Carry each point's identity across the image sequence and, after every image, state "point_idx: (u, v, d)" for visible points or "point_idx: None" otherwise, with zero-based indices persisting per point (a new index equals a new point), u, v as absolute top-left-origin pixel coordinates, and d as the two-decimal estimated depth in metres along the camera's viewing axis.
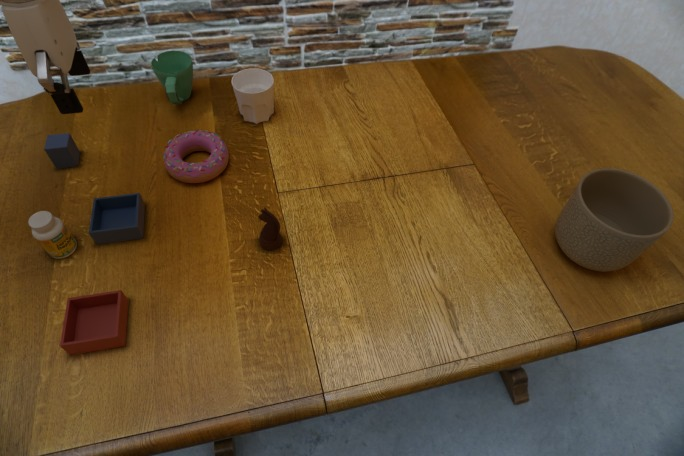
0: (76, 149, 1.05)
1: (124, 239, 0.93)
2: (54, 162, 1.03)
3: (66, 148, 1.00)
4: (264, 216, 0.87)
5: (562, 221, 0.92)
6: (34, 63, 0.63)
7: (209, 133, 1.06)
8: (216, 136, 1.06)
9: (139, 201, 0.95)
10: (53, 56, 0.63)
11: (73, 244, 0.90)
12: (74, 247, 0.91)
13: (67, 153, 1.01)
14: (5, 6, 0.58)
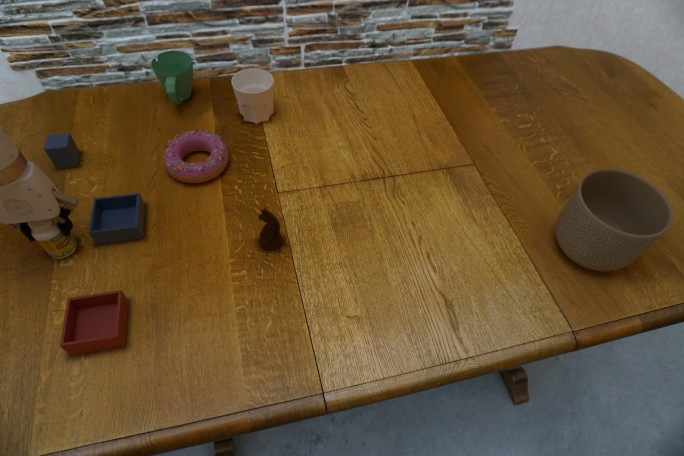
0: (76, 149, 1.05)
1: (124, 239, 0.93)
2: (54, 162, 1.03)
3: (66, 148, 1.00)
4: (264, 216, 0.87)
5: (562, 221, 0.92)
6: (56, 202, 0.80)
7: (209, 133, 1.06)
8: (216, 136, 1.06)
9: (139, 201, 0.95)
10: (55, 188, 0.81)
11: (73, 244, 0.90)
12: (74, 247, 0.91)
13: (67, 153, 1.01)
14: (24, 177, 0.74)
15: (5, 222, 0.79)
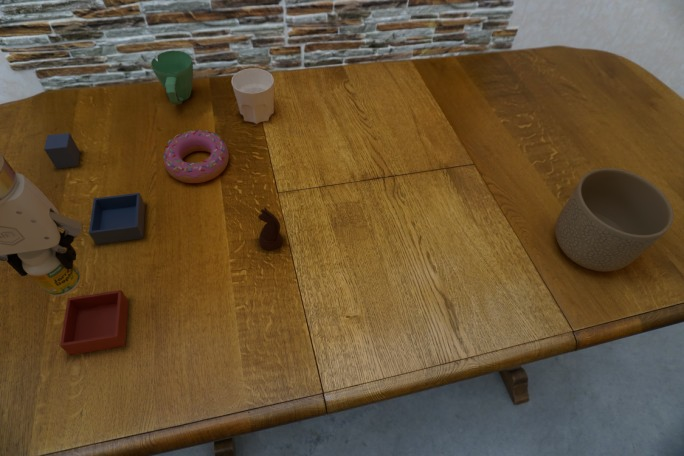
0: (76, 149, 1.05)
1: (124, 239, 0.93)
2: (54, 162, 1.03)
3: (66, 148, 1.00)
4: (264, 216, 0.87)
5: (562, 221, 0.92)
6: (55, 227, 0.60)
7: (209, 133, 1.06)
8: (216, 136, 1.06)
9: (139, 201, 0.95)
10: (54, 208, 0.61)
11: (76, 277, 0.71)
12: (77, 281, 0.71)
13: (67, 153, 1.01)
14: (11, 197, 0.54)
15: None
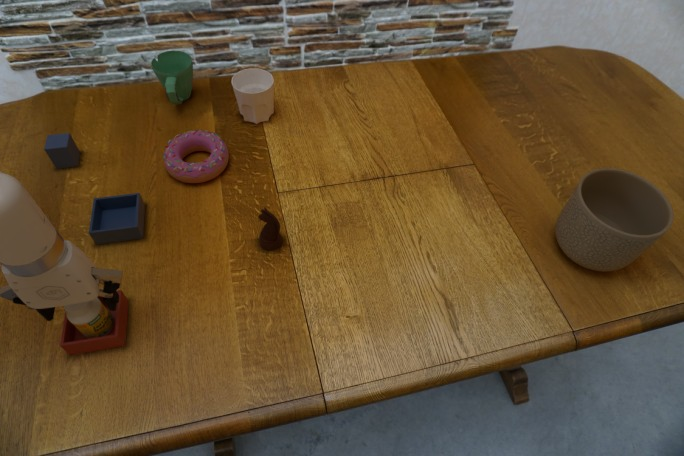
0: (76, 149, 1.05)
1: (124, 239, 0.93)
2: (54, 162, 1.03)
3: (66, 148, 1.00)
4: (264, 216, 0.87)
5: (562, 221, 0.92)
6: (95, 284, 0.69)
7: (209, 133, 1.06)
8: (216, 136, 1.06)
9: (139, 201, 0.95)
10: (94, 266, 0.70)
11: (110, 322, 0.80)
12: (111, 326, 0.81)
13: (67, 153, 1.01)
14: (62, 263, 0.63)
15: (36, 307, 0.69)
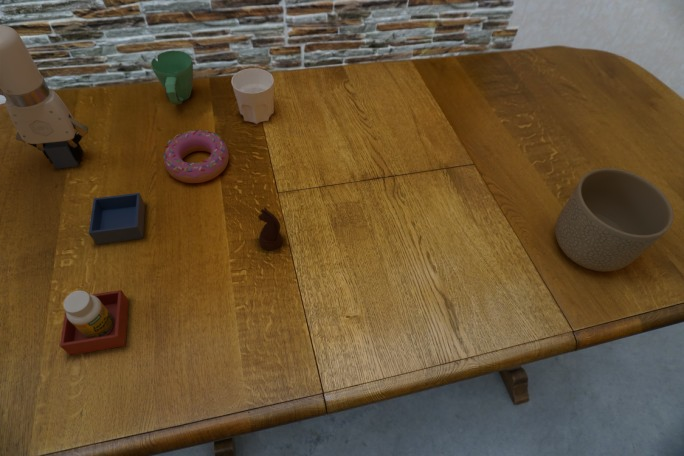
0: None
1: (124, 239, 0.93)
2: (54, 162, 1.03)
3: (66, 148, 1.00)
4: (264, 216, 0.87)
5: (562, 221, 0.92)
6: (72, 126, 0.97)
7: (209, 133, 1.06)
8: (216, 136, 1.06)
9: (139, 201, 0.95)
10: (71, 115, 0.98)
11: (110, 322, 0.80)
12: (111, 326, 0.81)
13: (67, 153, 1.01)
14: (47, 101, 0.91)
15: (30, 142, 0.97)
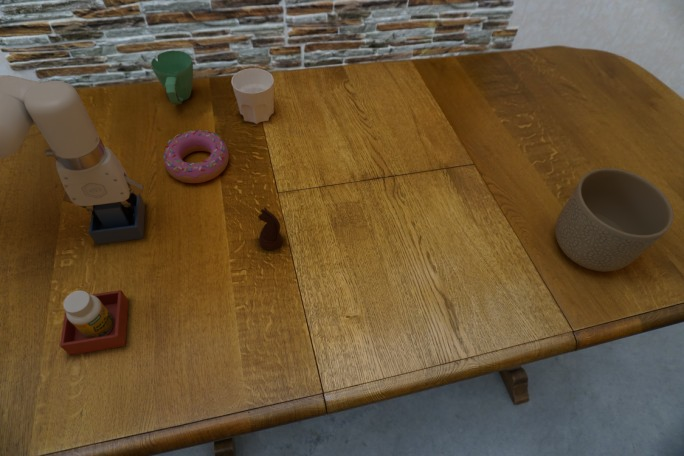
0: None
1: (124, 239, 0.93)
2: (104, 223, 0.91)
3: (118, 208, 0.89)
4: (264, 216, 0.87)
5: (562, 221, 0.92)
6: (127, 186, 0.86)
7: (209, 133, 1.06)
8: (216, 136, 1.06)
9: (139, 201, 0.95)
10: (126, 173, 0.87)
11: (110, 322, 0.80)
12: (111, 326, 0.81)
13: (119, 214, 0.90)
14: (103, 162, 0.80)
15: (80, 204, 0.85)
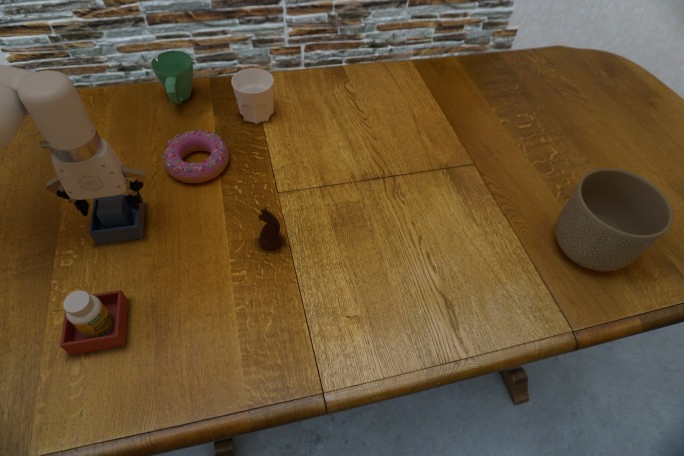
0: (129, 210, 0.95)
1: (124, 239, 0.93)
2: (106, 227, 0.92)
3: (120, 212, 0.90)
4: (264, 216, 0.87)
5: (562, 221, 0.92)
6: (124, 179, 0.84)
7: (209, 133, 1.06)
8: (216, 136, 1.06)
9: None
10: (123, 166, 0.85)
11: (110, 322, 0.80)
12: (111, 326, 0.81)
13: (122, 217, 0.91)
14: (99, 154, 0.78)
15: (76, 198, 0.84)
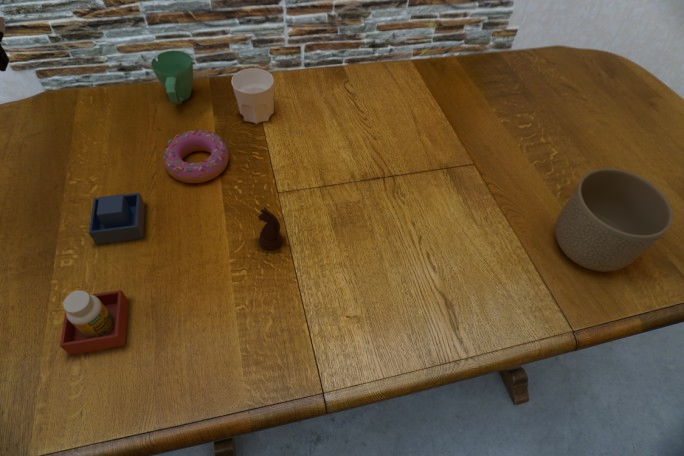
0: (129, 210, 0.95)
1: (124, 239, 0.93)
2: (106, 227, 0.92)
3: (120, 212, 0.90)
4: (264, 216, 0.87)
5: (562, 221, 0.92)
6: None
7: (209, 133, 1.06)
8: (216, 136, 1.06)
9: (139, 201, 0.95)
10: None
11: (110, 322, 0.80)
12: (111, 326, 0.81)
13: (122, 217, 0.91)
14: None
15: None
